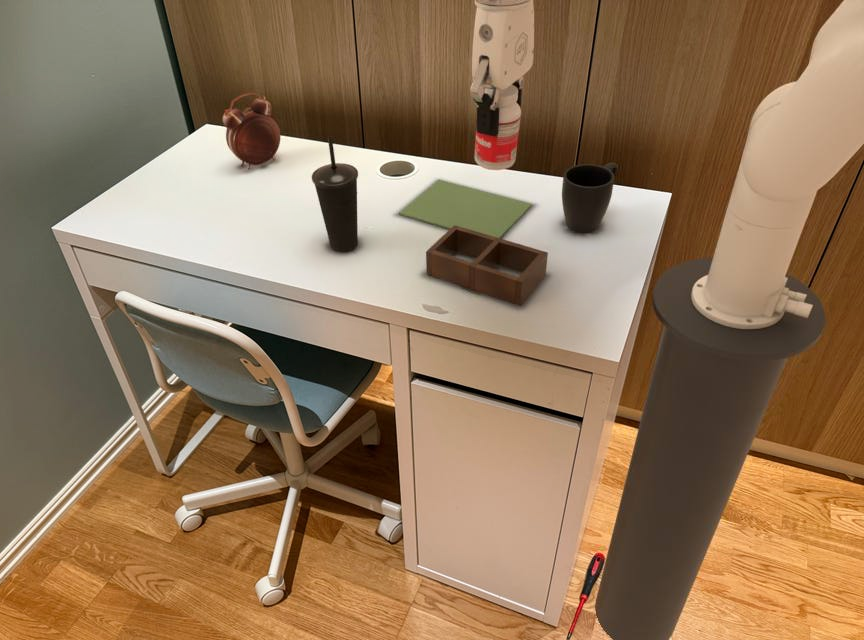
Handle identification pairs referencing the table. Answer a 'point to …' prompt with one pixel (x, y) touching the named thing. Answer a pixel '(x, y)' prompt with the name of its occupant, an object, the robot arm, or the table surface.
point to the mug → (587, 195)
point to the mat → (466, 209)
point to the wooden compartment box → (487, 264)
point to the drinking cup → (338, 202)
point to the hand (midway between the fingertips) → (498, 123)
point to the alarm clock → (252, 131)
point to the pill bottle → (501, 133)
